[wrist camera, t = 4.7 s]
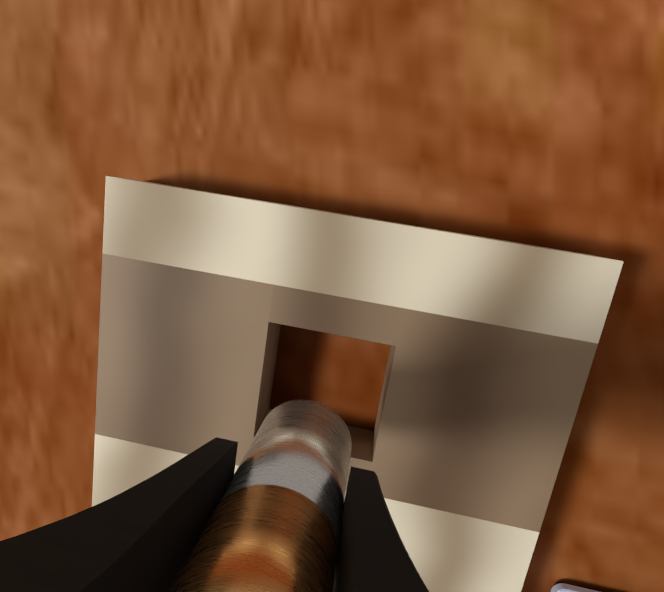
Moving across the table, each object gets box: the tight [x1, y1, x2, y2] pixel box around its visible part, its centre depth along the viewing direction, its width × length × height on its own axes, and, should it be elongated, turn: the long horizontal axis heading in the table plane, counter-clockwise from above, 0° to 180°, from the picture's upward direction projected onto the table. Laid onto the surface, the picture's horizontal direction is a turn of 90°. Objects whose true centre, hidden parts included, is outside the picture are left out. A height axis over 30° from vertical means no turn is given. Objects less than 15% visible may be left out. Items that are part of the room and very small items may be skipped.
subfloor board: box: [92, 176, 624, 592], centre depth 18 cm, size 19×18×2 cm
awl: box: [170, 399, 352, 592], centre depth 9 cm, size 3×3×8 cm
